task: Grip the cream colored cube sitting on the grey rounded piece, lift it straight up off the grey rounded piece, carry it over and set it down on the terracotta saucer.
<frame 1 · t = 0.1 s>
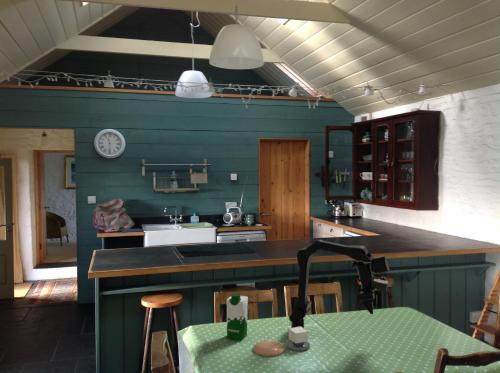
hand: (373, 310, 187), 15 cm above the table, tool pointing down, fingers open, 9 cm apart
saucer: (269, 349, 183), on the table
grey rounded piece: (298, 346, 186), on the table
milk carton: (237, 337, 196), on the table
cream colored cube: (298, 339, 186), point 3 cm above the table, touching grey rounded piece
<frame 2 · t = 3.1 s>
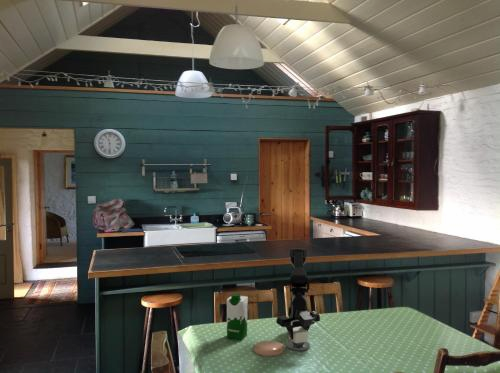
hand: (298, 338, 186), 4 cm above the table, tool pointing down, fingers closed on cream colored cube, 6 cm apart
cream colored cube: (298, 339, 186), point 3 cm above the table, touching gripper, grey rounded piece
everything else where it was.
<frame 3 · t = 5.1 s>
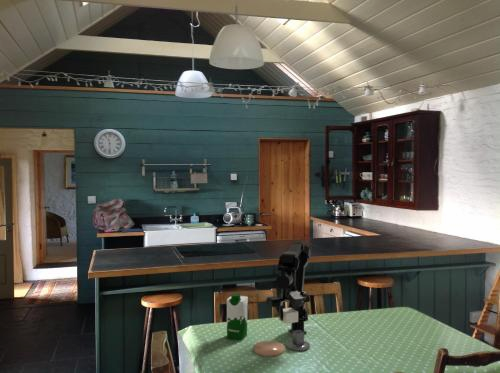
hand: (288, 319, 184), 12 cm above the table, tool pointing down, fingers closed on cream colored cube, 6 cm apart
cream colored cube: (288, 320, 184), point 12 cm above the table, touching gripper
everything else where it was.
when the fingers open (3 cm above the table, at t = 7.2 s): cream colored cube drops 1 cm, resting on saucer.
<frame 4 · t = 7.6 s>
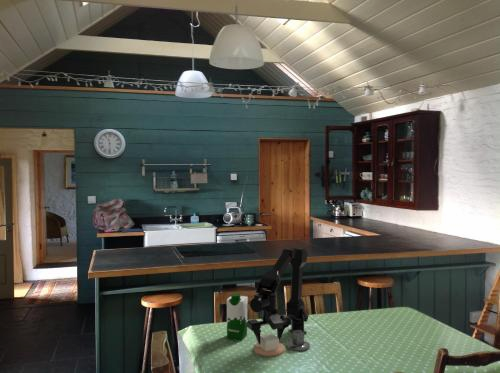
hand: (269, 342, 183), 3 cm above the table, tool pointing down, fingers open, 9 cm apart
cream colored cube: (269, 347, 183), point 1 cm above the table, touching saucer
everything else where it was.
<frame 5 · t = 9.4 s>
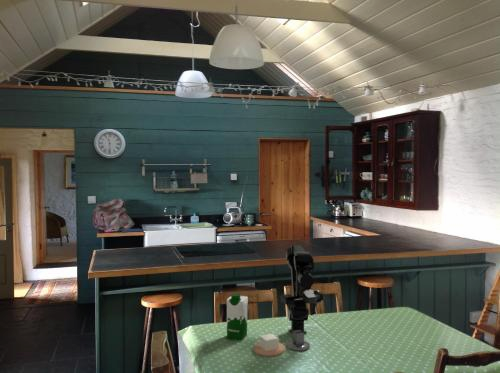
hand: (302, 316, 189), 12 cm above the table, tool pointing down, fingers open, 9 cm apart
nothing on the table moved.
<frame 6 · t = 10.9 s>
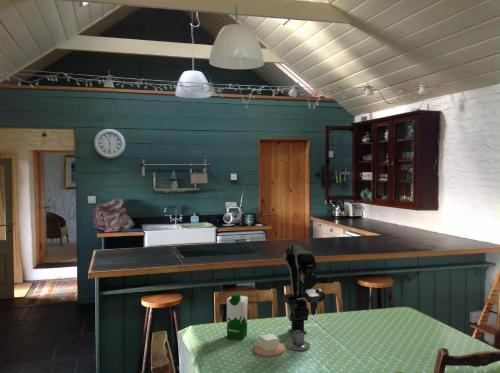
hand: (304, 316, 189), 12 cm above the table, tool pointing down, fingers open, 9 cm apart
nothing on the table moved.
at the end: cream colored cube 0.1 cm off-centre on the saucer, point 1.2 cm above the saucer's base; cream colored cube tilted 0°; the gripper is holding nothing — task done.
